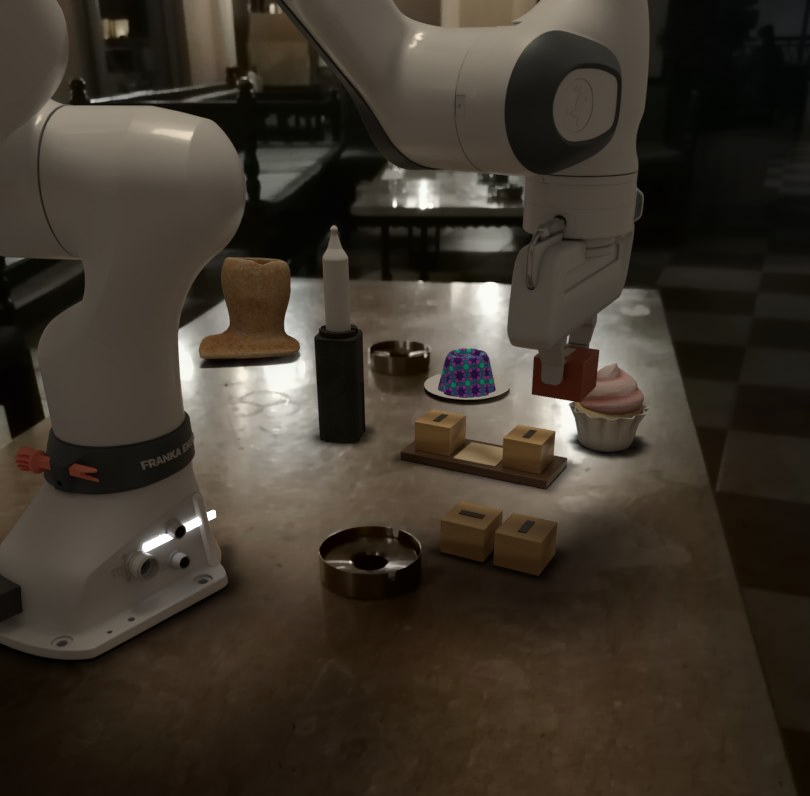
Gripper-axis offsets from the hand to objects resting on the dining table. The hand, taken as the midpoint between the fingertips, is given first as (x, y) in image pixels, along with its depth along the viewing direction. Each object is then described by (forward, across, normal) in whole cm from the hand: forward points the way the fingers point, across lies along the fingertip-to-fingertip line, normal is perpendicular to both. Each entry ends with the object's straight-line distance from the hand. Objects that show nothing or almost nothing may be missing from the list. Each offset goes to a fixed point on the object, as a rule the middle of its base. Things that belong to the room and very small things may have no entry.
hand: (565, 372), depth 80 cm
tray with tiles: (+17, +14, +14) cm, 26 cm away
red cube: (+2, 0, 0) cm, 2 cm away
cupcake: (+17, +26, +3) cm, 32 cm away
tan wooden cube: (+17, -5, +1) cm, 18 cm away
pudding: (+17, +36, +26) cm, 48 cm away
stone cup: (+17, +36, +63) cm, 74 cm away
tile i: (+17, -5, +6) cm, 19 cm away
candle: (+17, +14, +33) cm, 40 cm away
